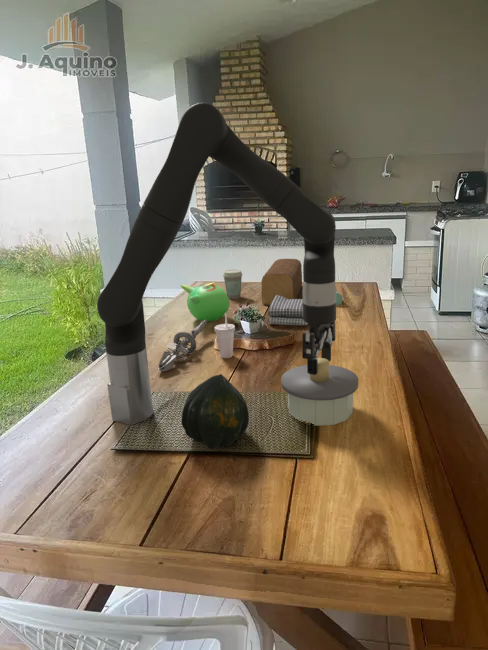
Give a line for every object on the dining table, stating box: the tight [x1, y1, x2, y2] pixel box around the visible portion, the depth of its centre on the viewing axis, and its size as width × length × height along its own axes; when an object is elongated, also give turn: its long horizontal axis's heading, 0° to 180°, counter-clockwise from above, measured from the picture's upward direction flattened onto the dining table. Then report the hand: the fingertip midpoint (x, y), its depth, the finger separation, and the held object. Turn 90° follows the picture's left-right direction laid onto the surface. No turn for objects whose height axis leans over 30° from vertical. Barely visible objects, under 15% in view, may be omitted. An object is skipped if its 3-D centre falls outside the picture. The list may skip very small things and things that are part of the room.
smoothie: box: [214, 312, 236, 359], centre depth 159 cm, size 6×6×14 cm
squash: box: [180, 373, 250, 450], centre depth 112 cm, size 14×15×15 cm
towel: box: [268, 295, 309, 327], centre depth 194 cm, size 15×18×8 cm
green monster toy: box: [180, 281, 230, 323], centre depth 197 cm, size 18×17×15 cm
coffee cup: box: [222, 269, 243, 300], centre depth 228 cm, size 8×8×12 cm
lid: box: [280, 357, 359, 400], centre depth 121 cm, size 18×18×6 cm
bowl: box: [287, 393, 354, 427], centre depth 123 cm, size 15×15×7 cm
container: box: [336, 289, 343, 307], centre depth 221 cm, size 6×6×25 cm
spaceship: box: [157, 320, 208, 372], centre depth 163 cm, size 8×35×8 cm
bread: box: [261, 258, 303, 306], centre depth 227 cm, size 14×34×14 cm, turn 168°
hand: (319, 367), depth 120 cm, fingers open, 8 cm apart
